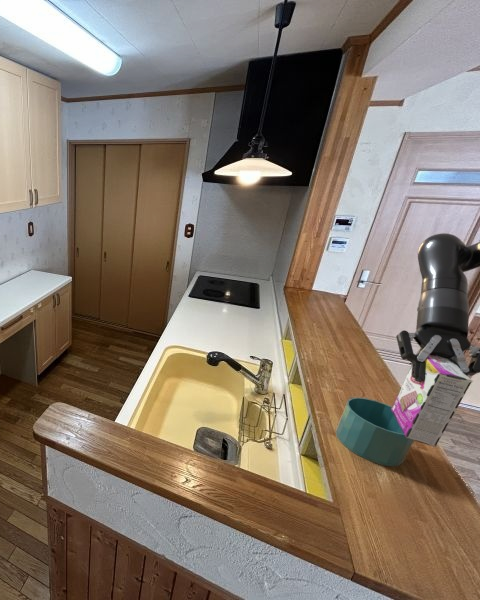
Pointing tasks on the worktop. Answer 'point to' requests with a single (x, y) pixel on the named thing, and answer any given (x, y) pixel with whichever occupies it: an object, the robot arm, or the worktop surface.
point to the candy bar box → (430, 400)
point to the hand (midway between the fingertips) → (438, 385)
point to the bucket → (373, 432)
